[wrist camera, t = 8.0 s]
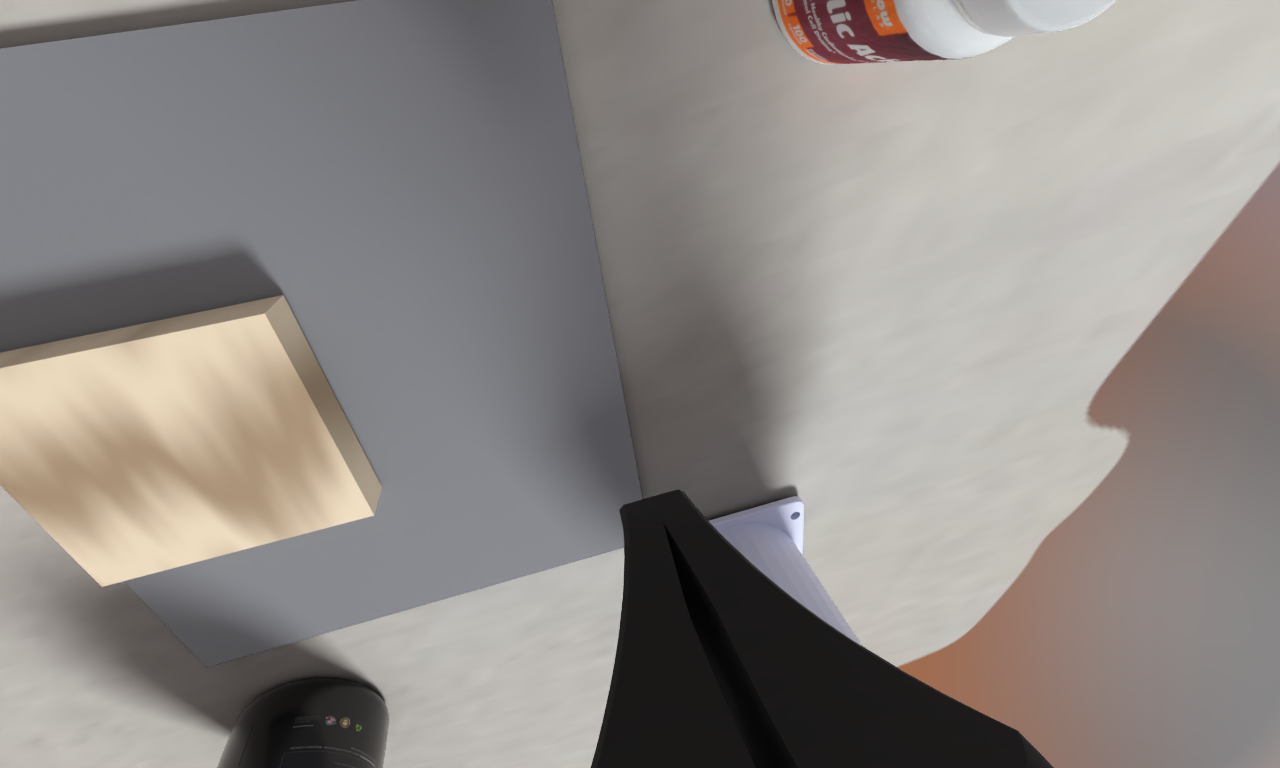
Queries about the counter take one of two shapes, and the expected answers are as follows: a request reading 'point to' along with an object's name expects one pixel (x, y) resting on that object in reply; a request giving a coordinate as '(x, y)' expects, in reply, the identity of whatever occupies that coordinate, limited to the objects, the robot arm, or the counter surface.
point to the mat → (342, 278)
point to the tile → (179, 440)
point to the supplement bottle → (310, 728)
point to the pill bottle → (920, 26)
